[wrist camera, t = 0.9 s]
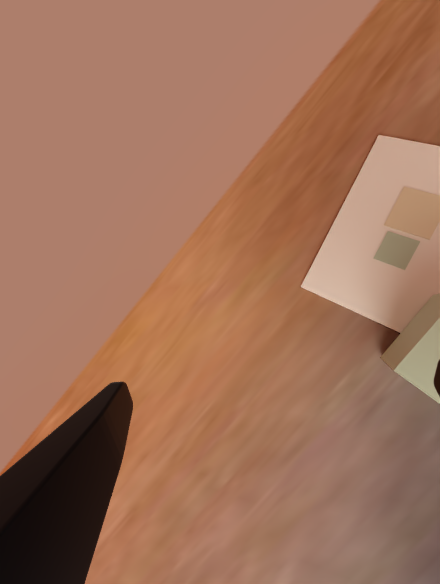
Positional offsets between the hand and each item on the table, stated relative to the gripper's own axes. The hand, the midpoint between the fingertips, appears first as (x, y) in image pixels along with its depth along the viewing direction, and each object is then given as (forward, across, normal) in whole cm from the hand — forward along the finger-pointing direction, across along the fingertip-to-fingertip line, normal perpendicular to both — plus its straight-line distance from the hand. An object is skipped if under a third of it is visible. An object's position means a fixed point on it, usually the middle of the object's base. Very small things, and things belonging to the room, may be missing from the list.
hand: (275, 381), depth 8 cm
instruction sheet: (+13, -10, 0) cm, 17 cm away
